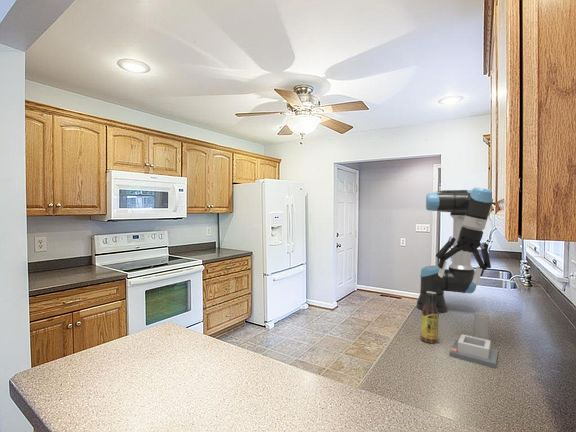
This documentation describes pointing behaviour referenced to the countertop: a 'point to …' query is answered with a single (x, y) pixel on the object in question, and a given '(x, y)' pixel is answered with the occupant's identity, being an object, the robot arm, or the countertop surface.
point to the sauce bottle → (430, 319)
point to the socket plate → (474, 350)
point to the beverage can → (481, 325)
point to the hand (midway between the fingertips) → (457, 279)
